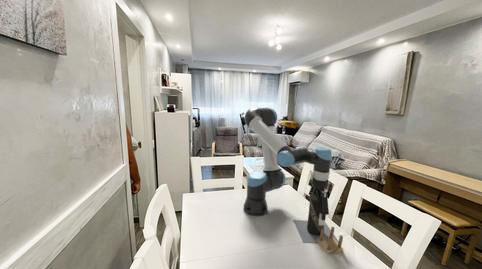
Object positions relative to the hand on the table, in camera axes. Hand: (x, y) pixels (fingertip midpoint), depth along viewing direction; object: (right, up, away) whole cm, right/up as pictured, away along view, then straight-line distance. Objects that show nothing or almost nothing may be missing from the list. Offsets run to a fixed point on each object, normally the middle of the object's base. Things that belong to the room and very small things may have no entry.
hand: (316, 216), depth 102 cm
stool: (+3, -10, -9) cm, 14 cm away
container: (0, -8, +1) cm, 8 cm away
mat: (0, -9, +1) cm, 9 cm away
